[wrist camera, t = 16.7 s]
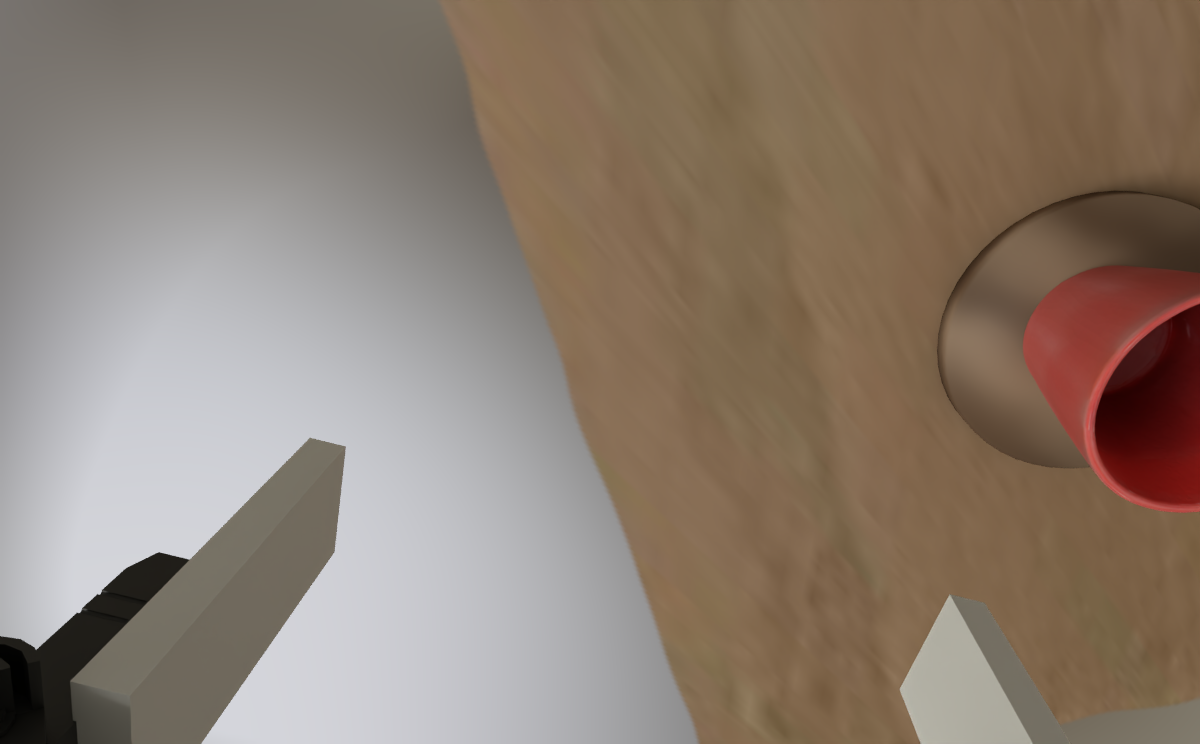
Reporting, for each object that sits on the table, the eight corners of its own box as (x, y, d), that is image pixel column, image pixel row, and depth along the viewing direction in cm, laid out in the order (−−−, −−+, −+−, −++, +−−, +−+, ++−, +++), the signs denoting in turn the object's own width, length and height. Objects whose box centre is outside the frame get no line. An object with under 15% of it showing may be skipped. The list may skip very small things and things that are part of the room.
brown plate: (1010, 158, 38) (1023, 161, 37) (1299, 231, 39) (1322, 237, 37) (895, 421, 45) (902, 432, 43) (1145, 482, 45) (1160, 495, 43)
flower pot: (1246, 328, 39) (1418, 402, 30) (1067, 455, 43) (1174, 555, 34) (1130, 192, 37) (1278, 229, 28) (952, 337, 41) (1033, 411, 32)
